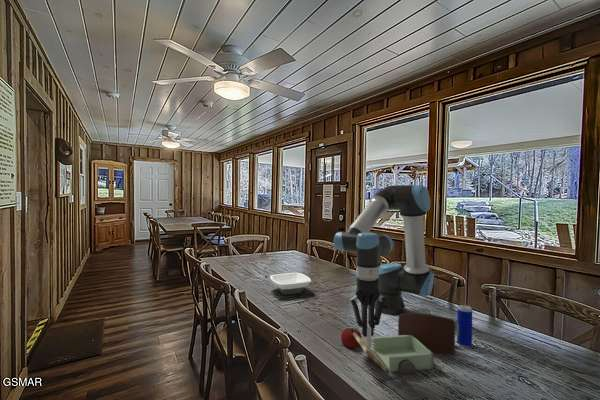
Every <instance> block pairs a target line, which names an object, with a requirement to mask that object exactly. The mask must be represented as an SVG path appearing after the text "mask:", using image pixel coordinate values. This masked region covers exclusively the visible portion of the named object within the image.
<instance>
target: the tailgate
mask: <svg viewBox="0 0 600 400" xmlns="http://www.w3.org/2000/svg"><path fill="white" fill-rule="evenodd" d="M353 335H354V337H355V338H356V340H357V341H358V343H359V344H360V345H359V346H360V347H361V348H362V350H363V351H364V353H365V354H366V355H367V356H369V357H370V359H372V360H373V361H374V362H375V364H377V365H378V366H379V367H380V368H381V369H382V370H383V371H384V372H390V371H389V370H388V369H387V367H386V366H385V365H384V363H383V362H382V361H381V359H380V358H379V357H378V355H377V354H376V353H375V352H374V349H372V347H367V346H366V345H365V340H363V339H361V338H362V337H361V338H360V337H359V336H358V335H357V334H356V333H355V332H354V333H353Z"/></svg>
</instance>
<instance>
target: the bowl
mask: <svg viewBox="0 0 600 400" xmlns="http://www.w3.org/2000/svg"><path fill="white" fill-rule="evenodd" d="M269 278H270V280H271V281H272V282H273V284H274V285H275V286H276V287H277V289H278V290H279V292H280V293H281V294H282V293H283V294H282V295H284V294H285V295H284V296H288V295H287V294H293V295H297V294H296V293H299V294H301V293H302V292H303V290H304V289H305V288H306V287H308V285H309V284H310V283H311V282H312V280H311V278H310V277H309V276H308V275H306V274H303V273H301V272H287V273H286V272H285V273H276V274H271V275H269Z"/></svg>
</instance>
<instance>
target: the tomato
mask: <svg viewBox="0 0 600 400" xmlns="http://www.w3.org/2000/svg"><path fill="white" fill-rule="evenodd" d="M354 332H355V333H356V334H357V335H358V336H359V337H360V338H361V339H362V332H360V330H359V329H357V328H353V327H346V328H344V329H342V331H341V333H340V334H341V335H340V340H341V343H342V344H343V345H344V347H347V348H350V349H357V348H358V347H359V346H361V345H360V344H359V343H358V341H357V340H356V338H355V337H354V335H353V333H354ZM362 340H363V339H362Z"/></svg>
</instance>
